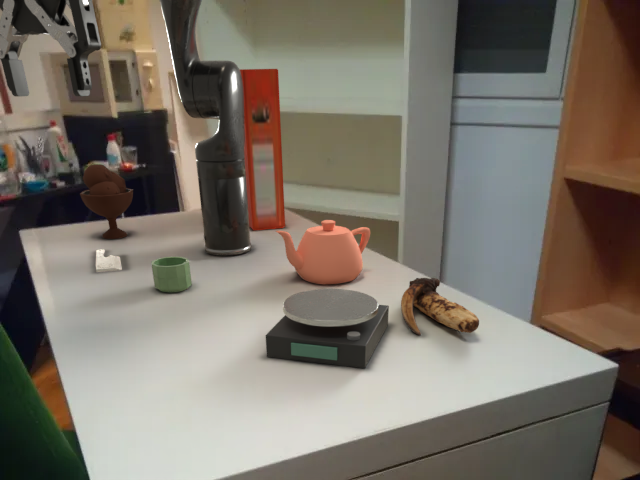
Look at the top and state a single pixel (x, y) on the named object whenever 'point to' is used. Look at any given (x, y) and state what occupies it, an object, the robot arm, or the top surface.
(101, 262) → the white slab with peg
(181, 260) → the green cup
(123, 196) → the ice cream bowl
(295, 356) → the scale
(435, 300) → the partly peeled banana
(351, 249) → the teapot
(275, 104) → the file binder
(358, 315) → the scale pan
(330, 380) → the top surface
